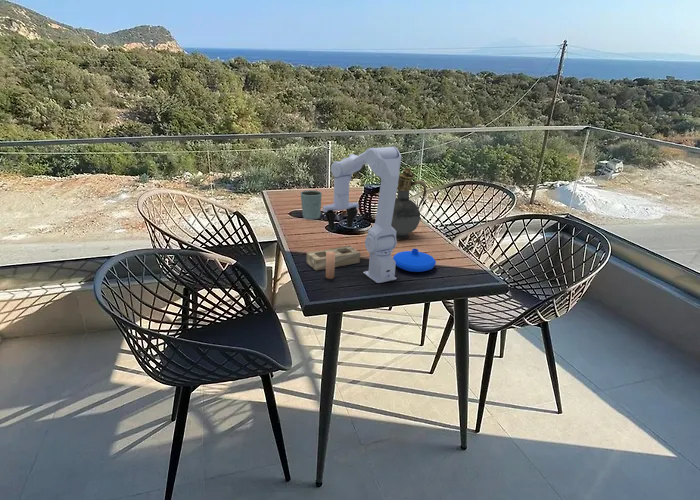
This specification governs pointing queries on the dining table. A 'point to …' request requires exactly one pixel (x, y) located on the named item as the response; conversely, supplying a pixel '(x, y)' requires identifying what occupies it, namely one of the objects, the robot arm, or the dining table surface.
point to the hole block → (342, 257)
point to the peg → (330, 264)
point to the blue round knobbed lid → (414, 261)
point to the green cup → (311, 204)
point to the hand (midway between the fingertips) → (340, 227)
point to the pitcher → (406, 206)
